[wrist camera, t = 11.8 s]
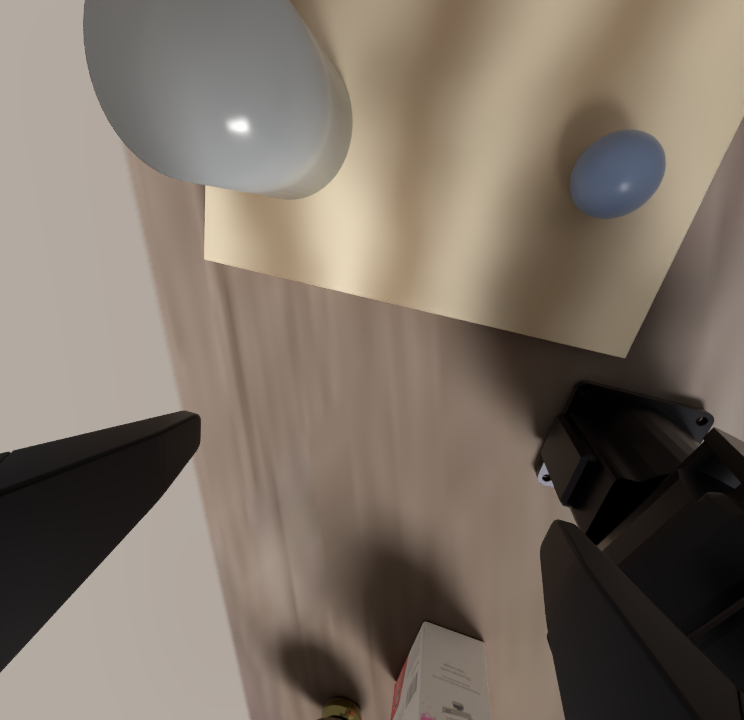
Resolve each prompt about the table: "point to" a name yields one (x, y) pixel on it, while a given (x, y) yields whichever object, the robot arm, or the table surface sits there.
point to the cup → (340, 710)
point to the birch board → (502, 159)
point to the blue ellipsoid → (617, 174)
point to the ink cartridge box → (443, 678)
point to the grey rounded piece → (220, 92)
